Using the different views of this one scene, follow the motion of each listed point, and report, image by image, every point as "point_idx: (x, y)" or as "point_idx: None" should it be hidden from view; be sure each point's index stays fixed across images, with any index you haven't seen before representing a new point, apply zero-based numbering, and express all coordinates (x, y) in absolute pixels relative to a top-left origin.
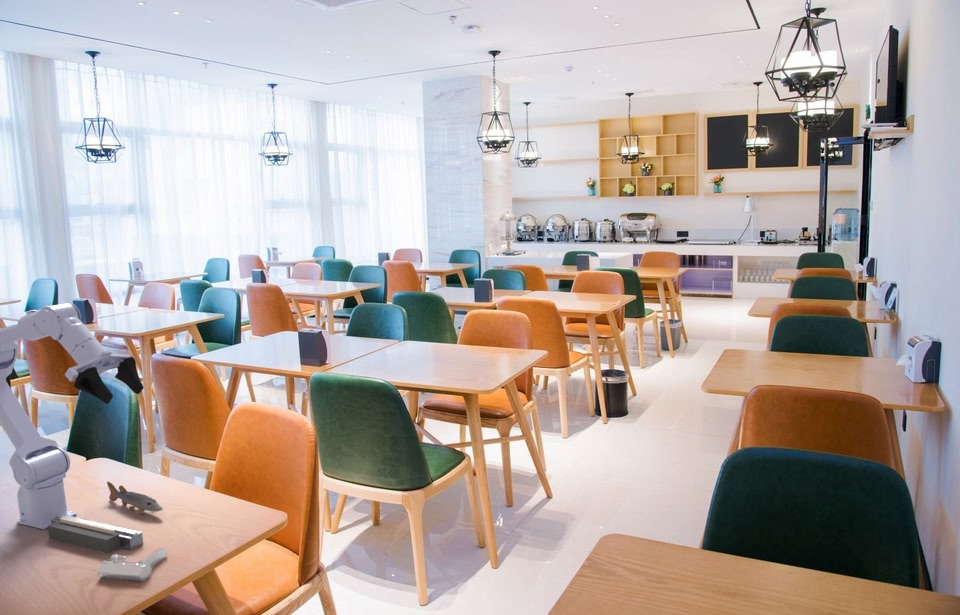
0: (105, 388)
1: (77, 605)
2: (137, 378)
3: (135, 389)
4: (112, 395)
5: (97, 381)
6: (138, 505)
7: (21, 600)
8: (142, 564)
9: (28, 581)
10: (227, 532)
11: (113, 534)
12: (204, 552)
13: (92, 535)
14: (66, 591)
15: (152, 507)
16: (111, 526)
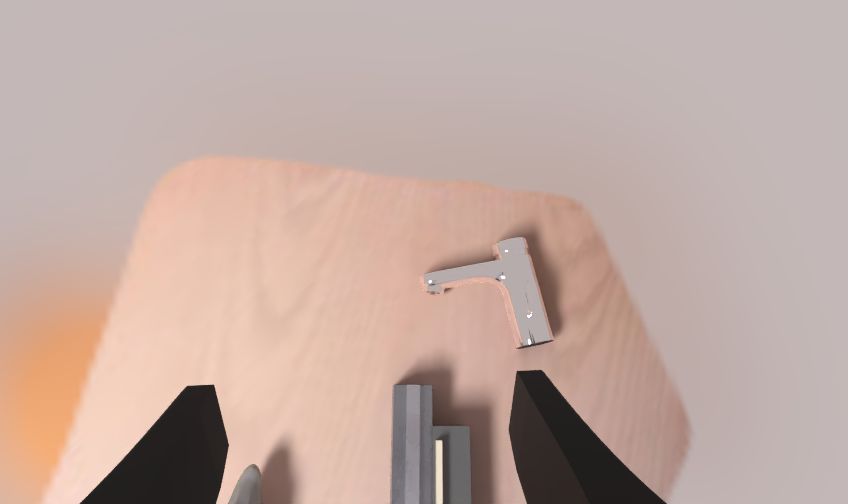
0: (570, 424)
1: (627, 296)
2: (155, 451)
3: (213, 463)
4: (521, 375)
5: (647, 497)
6: None
7: (672, 428)
8: (513, 244)
9: None
10: (281, 229)
11: (441, 437)
12: (377, 213)
13: (466, 493)
14: (608, 366)
15: (257, 496)
16: (407, 491)
